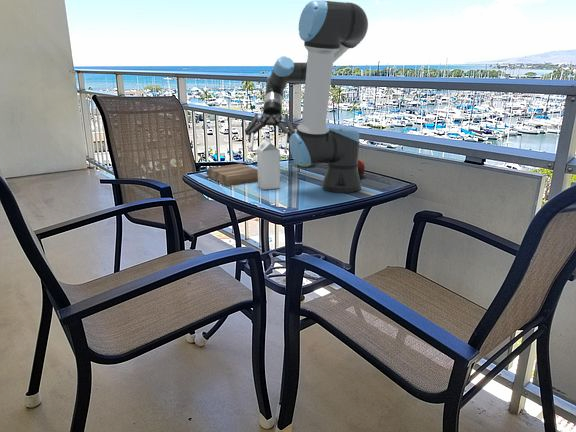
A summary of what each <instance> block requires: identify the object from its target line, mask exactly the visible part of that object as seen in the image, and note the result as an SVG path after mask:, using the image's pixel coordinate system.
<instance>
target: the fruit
mask: <svg viewBox="0 0 576 432" xmlns="http://www.w3.org/2000/svg"><path fill="white" fill-rule="evenodd" d="M365 169H366V166H365V163H364V161H363V160H362V159H359V158H358V173H359V177H360V178H361V177H362V176H364V174H365Z"/></svg>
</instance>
